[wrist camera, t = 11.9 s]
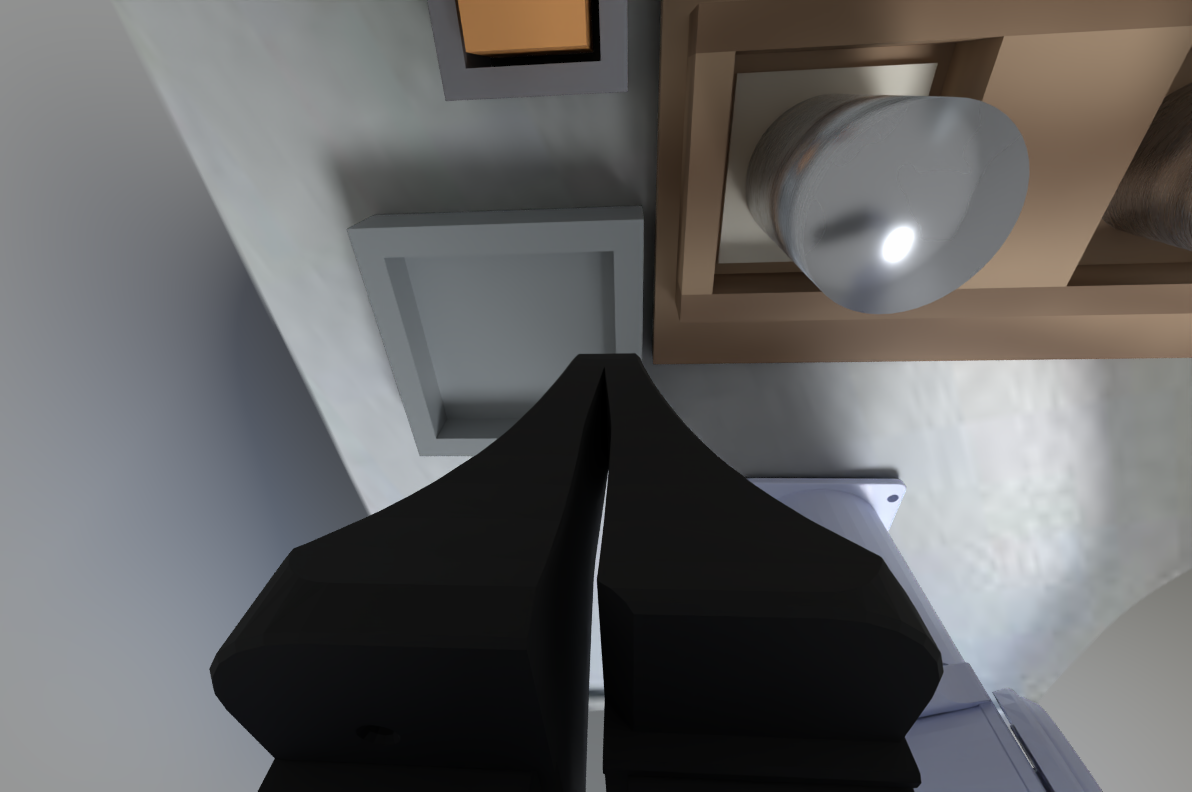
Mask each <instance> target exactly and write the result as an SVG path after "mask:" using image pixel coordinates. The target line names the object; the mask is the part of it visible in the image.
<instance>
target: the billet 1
mask: <svg viewBox="0 0 1192 792" xmlns="http://www.w3.org/2000/svg"><path fill="white" fill-rule="evenodd" d="M1028 182H1029V158H1028V152H1027V147H1026V145H1025V142H1024V139H1023V137H1022V134H1021V133H1020V131H1019V130H1018V128H1017V126H1016V125H1015V124H1014V122H1013V121H1012V120H1011V119H1010V118H1009V117H1008V116H1007V115H1006V114H1005V113H1003V112H1002V111H1000V110H999V109H997V108H996V107H994V106H992V105H990V104H987V103H985V102H983V101H979V100H975V99H971V98H962V97H939V96H904V95H868V94H824V95H819V96H815V97H812V98H809V99H807V100H804V101H802V102H800V103H798V104H796V105H794V106H793V107H791V108H790V109H788V110H787V111H785V112H784V113H783V114H782V115H781V116H780V117H778V118H777V119H776V120H775V121H774V122H773V123H772V124H771V125H770V127H769V128H768V129H767V130H766V132H765V133H764V134H763V136H762V137H761V139H760V140H759V142H758V144H757V145H756V147H755V150H754V152H753V154H752V156H751V159H750V162H749V165H748V170H747V175H746V185H745V186H746V198H747V204H748V207H749V210H750V212H751V215H752V217H753V219H754V220H755V222H756V223H757V224H758V226H759V227H760V228H761V229H762V230H763V231H764V232H765V233H766V234H767V235H768V236H769V237H770V238H771V239H772V240H773V241H774V242H775V243H776V244H777V246H778V247H779V248H780V249H781V250H782V251H783V252H784V253H785V254H786V255H787V256H788V257H789V258H790V259H791V260H792V261H793V262H794V263H795V264H796V265H797V266H798V267H799V268H800V269H801V270H802V271H803V272H804V273H805V274H806V276H807V277H808V278H809V279H810V280H811V281H812V282H813V283H814V284H815V285H816V286H817V287H818V288H819V289H820V290H821V291H822V292H823V293H824V294H825V295H826V296H827V297H828V298H830V299H831V300H832V301H834V302H835V303H837V304H839V305H841V306H843V307H845V308H847V309H850V310H853V311H857V312H862V313H867V314H892V313H898V312H904V311H908V310H912V309H916V308H919V307H921V306H924V305H927V304H929V303H932V302H934V301H936V300H938V299H940V298H942V297H944V296H946V295H947V294H949V293H951V292H952V291H954V290H956V289H957V288H959V287H960V286H961V285H963V284H964V283H965V282H967V281H968V280H970V279H971V278H972V277H973V276H974V275H975V274H976V273H978V272H979V271H980V270H981V269H982V268H983V267H984V266H985V265H986V264H987V263H988V262H989V261H990V260H991V259H992V258H993V256H994V255H995V254H996V253H997V251H998V250H999V249H1000V248H1001V246H1002V245H1003V243H1004V242H1005V240H1006V239H1007V237H1008V236H1009V234H1010V233H1011V231H1012V229H1013V227H1014V225H1015V223H1016V222H1017V220H1018V217H1019V215H1020V212H1021V210H1022V207H1023V205H1024V201H1025V198H1026V194H1027V190H1028Z"/></svg>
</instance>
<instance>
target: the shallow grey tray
mask: <svg viewBox="0 0 1192 792" xmlns="http://www.w3.org/2000/svg"><path fill="white" fill-rule="evenodd" d="M347 232H348V235H349V238H350V241H351V244H352V247H353V250H354V253H355V257H356V260H357V263H358V266H359V269H360V272H361V275H362V278H363V281H364V284H365V288H366V291H367V294H368V297H369V300H370V303H371V306H372V309H373V312H374V316H375V319H376V322H377V325H378V328H379V331H380V334H381V337H382V340H383V343H384V347H385V350H386V353H387V356H388V359H389V362H390V365H391V368H392V371H393V374H394V378H395V381H396V384H397V387H398V390H399V393H400V396H401V399H402V402H403V406H404V409H405V412H406V415H407V418H408V421H409V424H410V427H411V430H412V433H413V437H414V440H415V443H416V446H417V449H418V452H419V455H420V456H475V455H477V454H478V453H479V452H481V451H482V450H484V449H485V448H486V447H488V446H489V445H490V444H491V443H493V442H494V441H495V440H497V439H498V438H499V437H500V436H502V435H503V434H504V433H505V432H506V431H508V430H509V429H510V428H511V427H512V426H513V425H514V424H515V423H516V422H517V421H518V420H519V419H520V418H522V417H523V416H524V415H525V414H526V413H527V412H528V411H529V410H530V409H531V408H532V407H533V406H534V405H535V404H536V403H537V402H538V401H539V399H540V398H541V397H542V396H543V395H544V394H545V393H546V392H547V390H548V389H549V388H550V387H551V386H552V385H553V384H554V382H555V381H556V380H557V379H558V378H559V376H560V375H561V374H562V373H563V371H564V370H565V369H566V368H567V366H568V365H569V364H570V362H571V361H572V360H573V359H574V358H575V357H576V356H577V355H578V354H612V353H636V354H637V355H638V356H639V357H640V358H641V361H642V332H643V249H644V217H643V210H642V206H620V207H591V208H562V209H533V210H504V211H475V212H447V213H418V214H389V215H373V216H371V217H369V218H367V219H365V220H363V221H361V222H359V223H358V224H356V225H354V226H352V227H350V228H348V229H347Z"/></svg>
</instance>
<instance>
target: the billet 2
mask: <svg viewBox="0 0 1192 792" xmlns="http://www.w3.org/2000/svg"><path fill="white" fill-rule="evenodd" d="M1102 219H1103V220H1104V221H1105V222H1106V223H1107V224H1108V225H1110V226H1111V227H1113V228H1115V229H1117V230H1120V231H1123V232H1127V233H1130V234H1134V235H1137V236H1141V237H1144V238H1148V239H1151V240H1154V241H1158V242H1161V243H1165V244H1168V245H1172V246H1175V247H1179V248H1182V249H1186V250H1189V251H1192V83H1190V84H1188V85H1186V86H1184V87H1181V88H1180V89H1178V90H1176V91H1174V92H1172V93H1171V94H1169V95H1167V96H1166V97H1165V98H1164V100H1163V101H1162V103H1161V105H1160V107H1159V109H1158V111H1157V113H1156V115H1155V117H1154V119H1153V121H1152V123H1151V125H1150V126H1149V128H1148V130H1147V132H1146V134H1145V136H1144V138H1143V140H1142V142H1141V144H1140V146H1139V148H1138V149H1137V151H1136V153H1135V155H1134V157H1133V159H1132V161H1131V163H1130V165H1129V167H1128V169H1127V171H1126V173H1125V174H1124V176H1123V178H1122V180H1121V182H1120V184H1119V186H1118V188H1117V190H1116V192H1115V194H1114V196H1113V197H1112V199H1111V201H1110V203H1109V205H1108V207H1107V209H1106V211H1105V213H1104V215H1103V217H1102Z"/></svg>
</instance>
